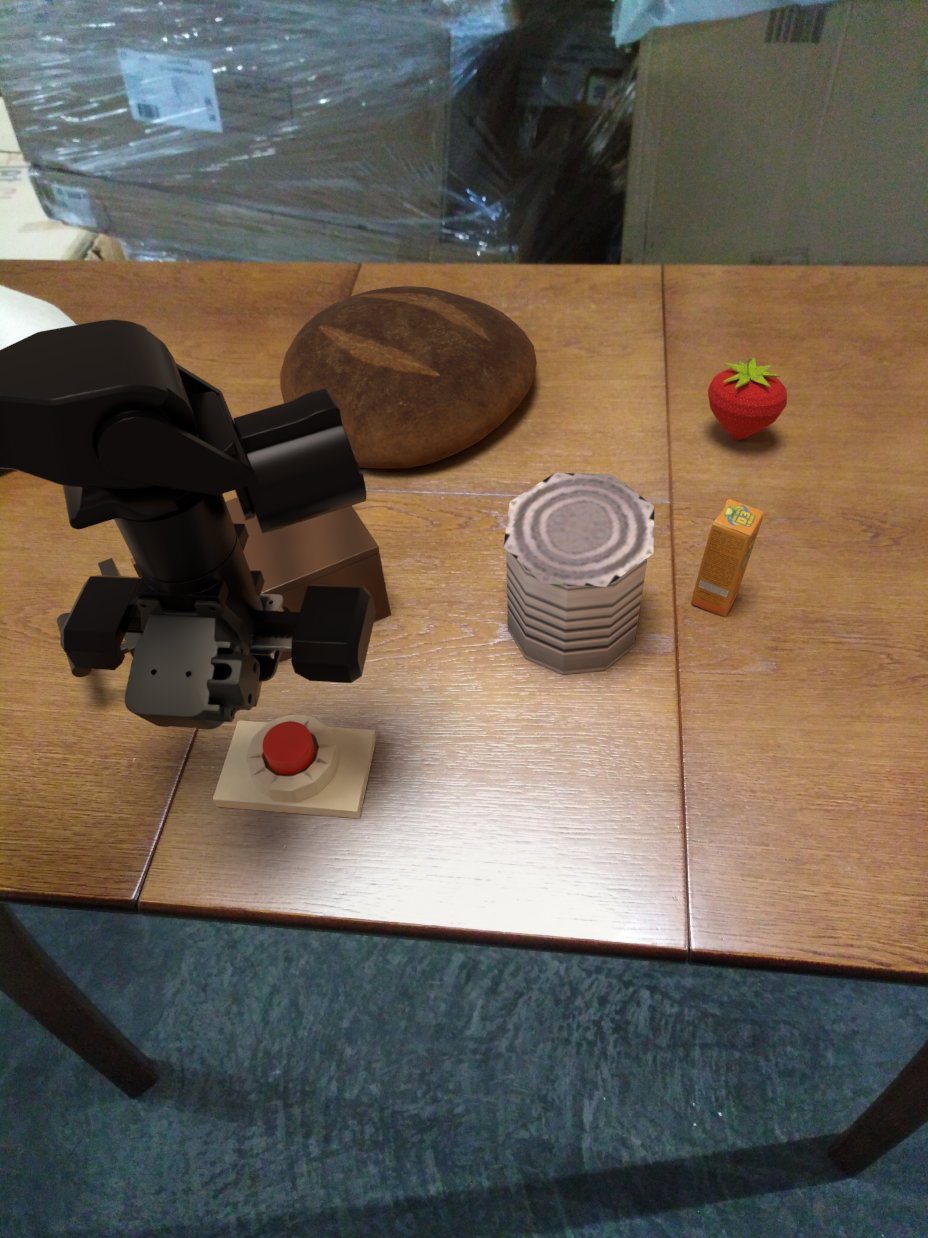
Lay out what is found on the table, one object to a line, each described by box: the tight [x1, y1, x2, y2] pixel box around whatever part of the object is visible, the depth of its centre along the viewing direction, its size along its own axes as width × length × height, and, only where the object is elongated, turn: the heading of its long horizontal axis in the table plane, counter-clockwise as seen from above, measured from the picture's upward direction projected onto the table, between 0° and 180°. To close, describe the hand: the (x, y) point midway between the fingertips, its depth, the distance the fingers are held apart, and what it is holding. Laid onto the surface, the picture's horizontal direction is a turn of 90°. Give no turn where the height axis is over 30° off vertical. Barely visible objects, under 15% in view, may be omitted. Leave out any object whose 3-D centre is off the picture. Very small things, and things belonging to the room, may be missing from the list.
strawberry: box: [707, 357, 788, 441], centre depth 87 cm, size 6×8×10 cm
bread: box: [279, 285, 538, 470], centre depth 95 cm, size 28×27×9 cm
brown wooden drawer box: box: [225, 497, 392, 663], centre depth 77 cm, size 14×12×9 cm
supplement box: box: [690, 498, 765, 617], centre depth 73 cm, size 3×3×10 cm
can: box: [503, 472, 656, 676], centre depth 72 cm, size 11×11×12 cm
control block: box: [212, 713, 377, 819], centre depth 67 cm, size 11×7×3 cm, turn 83°
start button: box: [262, 721, 315, 775], centre depth 66 cm, size 4×4×2 cm
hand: (252, 701), depth 62 cm, fingers closed
